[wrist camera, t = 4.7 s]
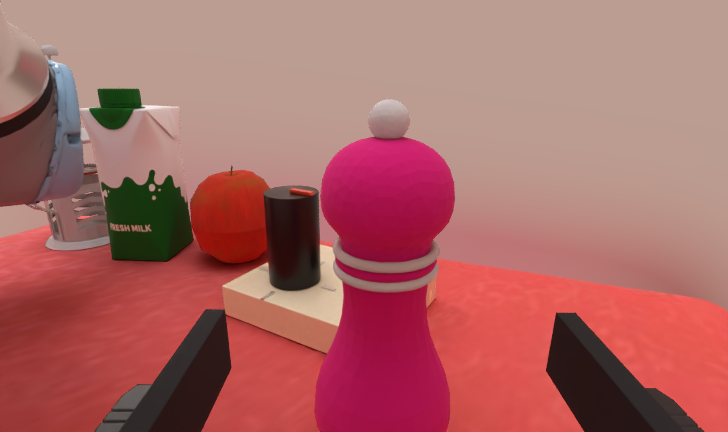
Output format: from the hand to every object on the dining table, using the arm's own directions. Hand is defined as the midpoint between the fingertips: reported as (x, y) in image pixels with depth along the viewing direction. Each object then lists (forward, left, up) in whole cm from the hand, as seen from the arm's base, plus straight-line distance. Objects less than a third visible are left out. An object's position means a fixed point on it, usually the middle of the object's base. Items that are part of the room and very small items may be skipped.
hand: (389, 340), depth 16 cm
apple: (-31, +20, -11) cm, 39 cm away
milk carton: (-42, +16, -11) cm, 46 cm away
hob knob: (-17, +14, -8) cm, 24 cm away
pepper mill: (-2, +3, -11) cm, 12 cm away
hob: (-14, +16, -11) cm, 24 cm away
